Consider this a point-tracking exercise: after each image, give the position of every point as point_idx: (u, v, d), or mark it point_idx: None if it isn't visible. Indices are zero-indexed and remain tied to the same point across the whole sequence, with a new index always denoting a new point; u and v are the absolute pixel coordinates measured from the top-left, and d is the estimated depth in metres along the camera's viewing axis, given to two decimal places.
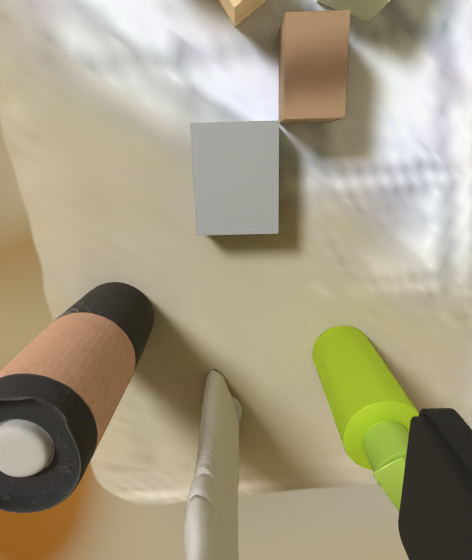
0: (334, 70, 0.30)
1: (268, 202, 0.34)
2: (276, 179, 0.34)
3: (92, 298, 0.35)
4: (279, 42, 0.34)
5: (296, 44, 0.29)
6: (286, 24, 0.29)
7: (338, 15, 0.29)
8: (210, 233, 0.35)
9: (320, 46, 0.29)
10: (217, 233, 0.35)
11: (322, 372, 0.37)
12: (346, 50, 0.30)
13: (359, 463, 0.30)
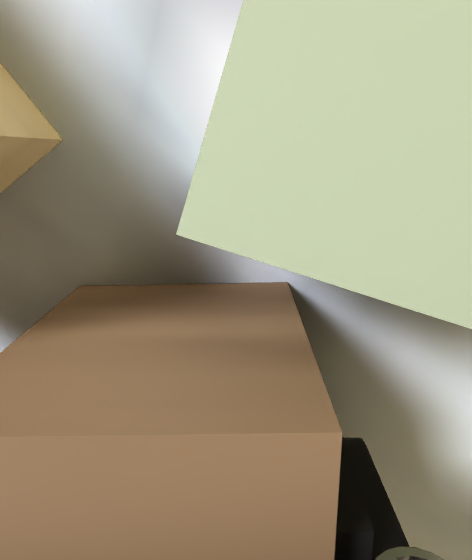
0: None
1: None
2: None
3: None
4: None
5: None
6: None
7: (261, 460, 0.04)
8: None
9: None
10: None
11: None
12: None
13: None
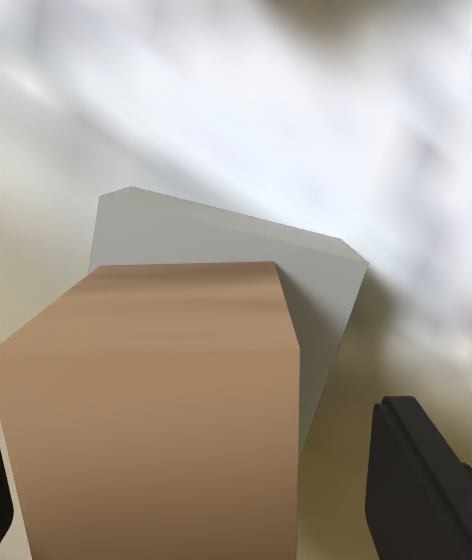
0: (240, 555, 0.07)
1: None
2: (310, 407, 0.12)
3: None
4: None
5: (63, 471, 0.07)
6: (2, 401, 0.06)
7: (242, 370, 0.06)
8: None
9: (169, 480, 0.07)
10: None
11: None
12: (288, 494, 0.07)
13: None
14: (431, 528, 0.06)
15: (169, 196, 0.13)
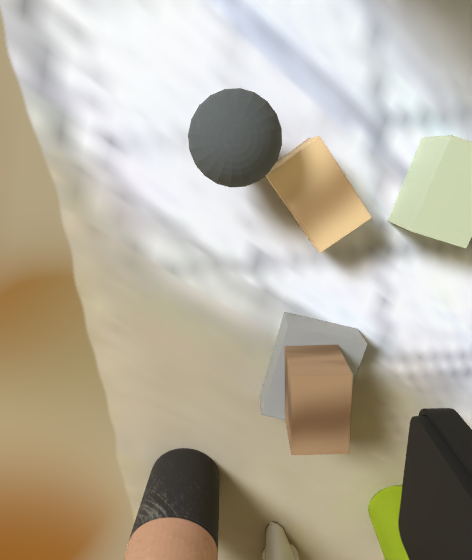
0: (338, 419, 0.32)
1: None
2: None
3: (172, 485, 0.37)
4: (285, 357, 0.35)
5: (302, 400, 0.31)
6: (292, 385, 0.31)
7: (341, 378, 0.31)
8: (274, 416, 0.37)
9: (324, 401, 0.31)
10: (281, 417, 0.37)
11: (384, 545, 0.39)
12: (349, 404, 0.31)
13: None
14: None
15: (297, 315, 0.38)
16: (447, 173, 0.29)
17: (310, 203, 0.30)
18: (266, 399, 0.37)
